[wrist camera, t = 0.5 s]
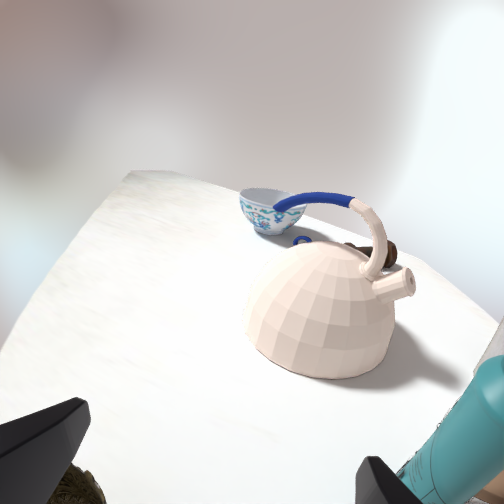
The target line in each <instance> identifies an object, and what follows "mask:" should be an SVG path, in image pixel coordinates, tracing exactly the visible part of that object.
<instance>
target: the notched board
mask: <svg viewBox="0 0 504 504" xmlns="http://www.w3.org/2000/svg"><path fill="white" fill-rule="evenodd" d="M484 488H485V489H484ZM484 488H483V489H484V490H483V489H481V490H480V492H481V491H482V490H483V491H482V492H481V493H480V492H479V493H480V494H479V493H477V494H475V495H474V497H475V496H476V498H479V499H481V500H483V501H485V502H487V503H489V504H504V470H503V471H502V472H501V473H499V474H498V475H497V476H496V477H495V478H494V479H493V480H492V481H490V482H489V484H487V485H486V486H485V487H484Z"/></svg>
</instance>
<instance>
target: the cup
mask: <svg viewBox="0 0 504 504" xmlns="http://www.w3.org/2000/svg"><path fill="white" fill-rule="evenodd" d="M46 504H107V503H106V500H105V496H104V494H103V491H102V489H101V488H100V486H99V485H98V483H97V482H96V481H95V479H94V477H93V475H92V474H91V473H90V472H89V471H88V470H86V471H85V472H83V471H82V470H81V469H80V468H79V467H76V466H74V465H73V464H72V462H71V464H70V465H69V467H68V469H67V470H66V472H65V473H64V475H63V477H62V478H61V480H60V481H59V483H58V485H57V486H56V488H55V490H54V491H53V493H52V495H51V496H50V498H49V500H48V501H47V503H46Z"/></svg>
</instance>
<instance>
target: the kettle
mask: <svg viewBox="0 0 504 504" xmlns="http://www.w3.org/2000/svg"><path fill="white" fill-rule="evenodd" d="M307 203H331V204H336V205H339V206H343V207H347V208H351V209H353V210H354V211H355V212H357V213H358V214H360V215H361V216H362V217H363V219H364V220H365V221H366V223H367V224H368V225H369V228H370V231H371V233H372V236H373V251H372V254H371V257H370V258H369V257H368V256H366V255H365V254H363V253H362V252H360V251H358V250H356V249H354V248H352V247H350V246H348V245H345V244H342V243H338V242H332V241H312V240H311V239H310V238H309V237H306V236H299V237H297V238H296V239H295V240H294V241H293V245H294V246H293V247H291V248H288V249H286V250H284V251H283V252H281V253H280V254H278V255H277V256H276V257H274V258H273V259H272V260H270V261H269V262H268V263H267V264H266V265H265V266H264V267H263V269H262V270H261V271H260V273H259V274H258V276H257V277H256V279H255V280H254V282H253V283H252V285H251V288H250V292H249V296H248V300H247V304H246V308H245V309H244V314H243V319H242V322H243V326H244V330H245V334H246V335H247V336H248V338H249V339H250V341H251V342H252V344H253V345H254V347H255V348H256V349H258V350H259V351H260V352H261V353H262V354H263V355H265V356H266V357H267V358H268V359H269V360H271V361H272V362H274V363H276V364H278V365H280V366H282V367H284V368H286V369H288V370H290V371H292V372H296V373H299V374H303V375H306V376H310V377H314V378H325V379H341V378H349V377H356V376H359V375H361V374H363V373H366V372H368V371H371V370H373V369H374V368H375V367H376V366H377V365H378V364H379V363H380V362H382V361H383V359H384V357H385V355H386V352H387V350H388V345H389V342H390V339H391V336H392V333H393V329H394V326H395V310H394V301H395V300H398V299H401V298H404V297H407V296H410V297H411V296H413V295H414V293H415V291H416V285H415V279H414V276H413V273H412V272H411V270H410V269H409V268H407V267H403V269H402V270H399V271H396V272H392V273H389V274H386V275H383V273H382V272H381V271H380V270H381V269H382V268H383V266H384V263H385V259H386V256H387V253H388V249H387V236H386V233H385V230H384V227H383V224H382V222H381V220H380V219H379V218H378V216H377V215H376V214H375V212H374V211H373V210H372V208H371V207H369V206H367V205H366V204H364V203H363V202H361V201H359V200H358V199H356V198H355V197H351V196H346V195H342V194H336V193H324V192H311V193H302V194H298V195H294V196H290V197H288V198H286V199H283V200H281V201H279V202H278V203H276V204H275V205H274V206H273V209H274V210H275V211H277V212H285V211H287V210H288V209H290V208H292V207H295V206H298V205H302V204H307ZM300 239H304V240H306V241H307V242H305V243H301V244H299V245H297V244H298V240H300Z"/></svg>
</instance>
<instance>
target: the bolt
mask: <svg viewBox="0 0 504 504" xmlns="http://www.w3.org/2000/svg"><path fill="white" fill-rule="evenodd" d="M344 244H345V245H348V246H350V247H352V248H354V249H356V250H358V251H360V252H362V253H363V254H365V255H366V256H368V257H369V258H370V257H371V254H372V251H373V247H356V246H355V245H353V244H352V243H344ZM387 249H388V253H387V256H386V259H385V263H384V267H385V268H390V267H391V266H392V265H394V263H395V262H396V259H397V249H396V246H395V244H394V243H392V242H391V241H388V240H387Z"/></svg>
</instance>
